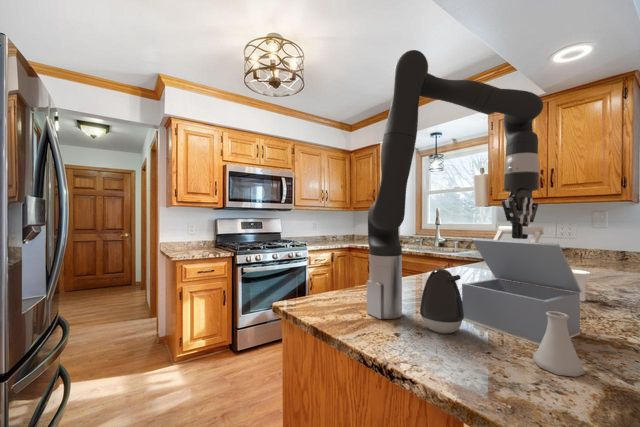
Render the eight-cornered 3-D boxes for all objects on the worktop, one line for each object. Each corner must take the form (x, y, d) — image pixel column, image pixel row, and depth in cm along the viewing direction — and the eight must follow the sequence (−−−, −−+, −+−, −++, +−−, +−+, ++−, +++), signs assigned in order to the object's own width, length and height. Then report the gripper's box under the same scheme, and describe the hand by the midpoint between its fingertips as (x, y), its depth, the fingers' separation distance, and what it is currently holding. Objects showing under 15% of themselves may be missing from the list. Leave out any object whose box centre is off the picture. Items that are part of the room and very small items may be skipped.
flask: (524, 359, 58) (523, 308, 58) (558, 357, 59) (558, 307, 59) (556, 379, 51) (556, 320, 51) (595, 377, 51) (594, 319, 52)
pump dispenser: (445, 341, 66) (444, 273, 67) (411, 326, 76) (410, 267, 76) (474, 333, 71) (473, 270, 71) (438, 320, 80) (438, 264, 81)
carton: (547, 347, 63) (546, 301, 63) (462, 320, 80) (462, 284, 81) (580, 333, 71) (579, 293, 71) (496, 311, 88) (495, 278, 88)
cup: (587, 298, 103) (586, 269, 104) (594, 304, 96) (593, 273, 96) (555, 294, 108) (554, 267, 108) (559, 300, 100) (558, 270, 101)
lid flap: (557, 245, 66) (567, 225, 68) (471, 239, 83) (481, 223, 86) (580, 292, 71) (588, 272, 73) (495, 278, 89) (504, 261, 91)
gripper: (522, 167, 71) (521, 239, 70) (550, 174, 78) (549, 239, 77) (491, 171, 77) (490, 237, 77) (519, 177, 84) (518, 238, 84)
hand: (519, 238), depth 77 cm, fingers closed on lid flap, 2 cm apart
